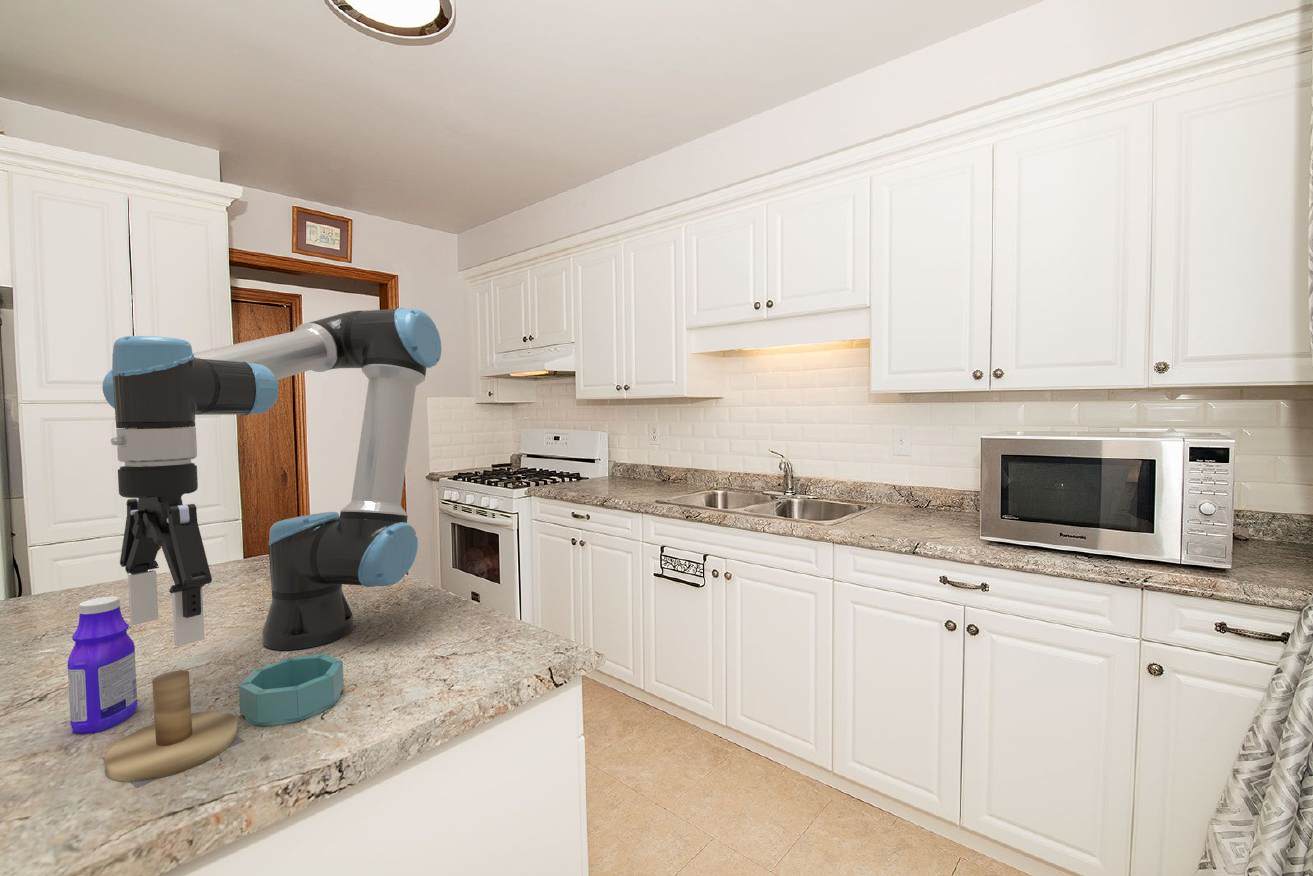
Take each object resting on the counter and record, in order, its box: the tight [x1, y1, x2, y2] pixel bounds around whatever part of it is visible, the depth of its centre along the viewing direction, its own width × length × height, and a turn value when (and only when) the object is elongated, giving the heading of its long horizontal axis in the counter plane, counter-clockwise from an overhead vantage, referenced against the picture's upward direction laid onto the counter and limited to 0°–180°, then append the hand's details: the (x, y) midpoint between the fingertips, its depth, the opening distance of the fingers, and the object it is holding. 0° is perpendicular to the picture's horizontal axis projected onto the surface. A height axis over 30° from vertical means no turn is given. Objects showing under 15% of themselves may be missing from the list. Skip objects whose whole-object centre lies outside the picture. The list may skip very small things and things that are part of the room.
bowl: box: [238, 653, 345, 727], centre depth 86 cm, size 12×12×5 cm
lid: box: [104, 669, 239, 783], centre depth 75 cm, size 13×13×10 cm
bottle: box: [67, 596, 138, 734], centre depth 82 cm, size 7×6×17 cm
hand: (166, 632), depth 74 cm, fingers open, 13 cm apart
